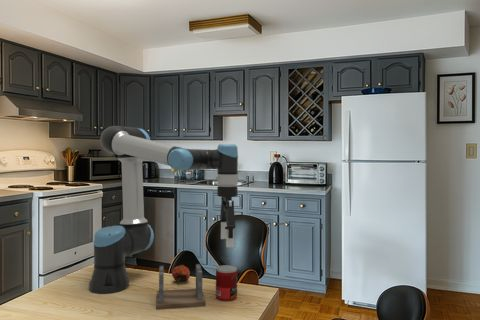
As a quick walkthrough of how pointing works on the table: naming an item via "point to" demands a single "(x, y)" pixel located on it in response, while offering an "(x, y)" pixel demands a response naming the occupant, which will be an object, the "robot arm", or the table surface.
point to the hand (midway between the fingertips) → (227, 242)
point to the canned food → (226, 282)
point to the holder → (180, 293)
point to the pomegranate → (181, 273)
